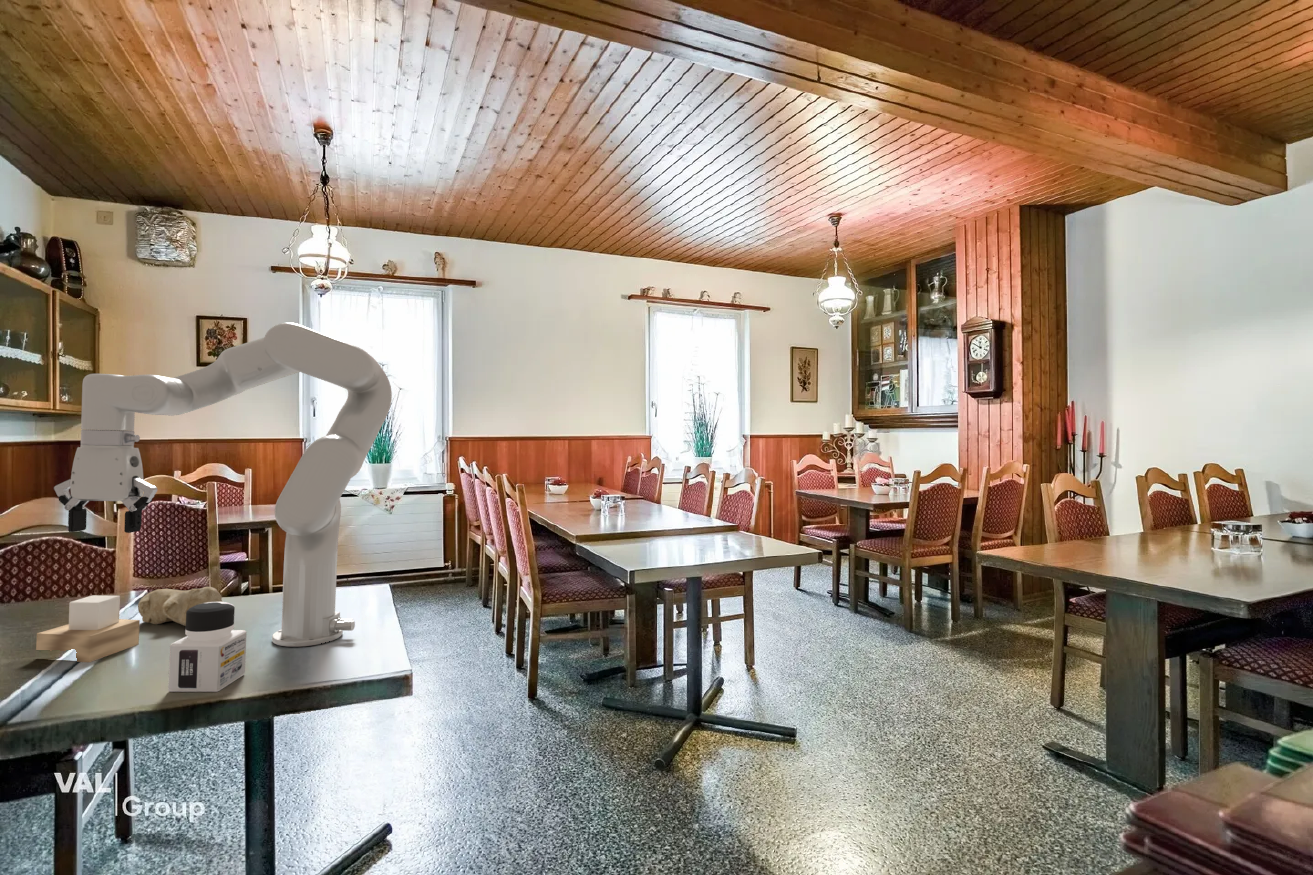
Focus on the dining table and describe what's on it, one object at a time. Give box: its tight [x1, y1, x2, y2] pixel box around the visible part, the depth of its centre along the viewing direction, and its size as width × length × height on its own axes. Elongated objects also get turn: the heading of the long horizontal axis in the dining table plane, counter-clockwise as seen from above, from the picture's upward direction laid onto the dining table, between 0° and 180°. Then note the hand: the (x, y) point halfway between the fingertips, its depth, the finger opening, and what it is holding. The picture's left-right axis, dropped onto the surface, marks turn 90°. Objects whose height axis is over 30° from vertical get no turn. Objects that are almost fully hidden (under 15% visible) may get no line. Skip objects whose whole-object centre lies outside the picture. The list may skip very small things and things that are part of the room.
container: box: [167, 601, 248, 693], centre depth 104 cm, size 8×8×13 cm
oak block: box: [35, 618, 141, 663], centre depth 116 cm, size 10×10×5 cm
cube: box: [68, 594, 121, 630], centre depth 117 cm, size 5×5×5 cm
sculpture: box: [137, 586, 223, 627], centre depth 134 cm, size 9×17×10 cm
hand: (105, 531), depth 118 cm, fingers open, 9 cm apart
